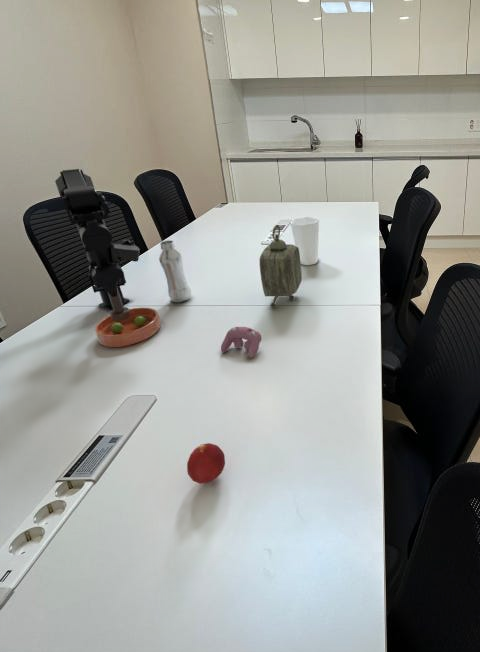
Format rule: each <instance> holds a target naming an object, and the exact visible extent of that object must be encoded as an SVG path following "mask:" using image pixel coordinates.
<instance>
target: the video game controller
mask: <svg viewBox="0 0 480 652" xmlns="http://www.w3.org/2000/svg"><path fill="white" fill-rule="evenodd" d="M244 340H246V341H245V342H244ZM261 342H262V335H261V333H260V332H259V331H256V330H255V329H253V328H251V327H247V326H234V327H231V328H230V329H229V330H228V331H227V332H226V335H225V336H224V339H223V340H222V342H221V345H220V351H221V352H222V353H225V352H227V351H228V350H229V349H230V347H231V346H232V345H233V346H234V348H236V349H240V348H244V350H245V351H248V353H247V354H248V358H250V359H252V358H254V357H255V356H256V354H257V352H258V350H259V347H260V343H261Z"/></svg>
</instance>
